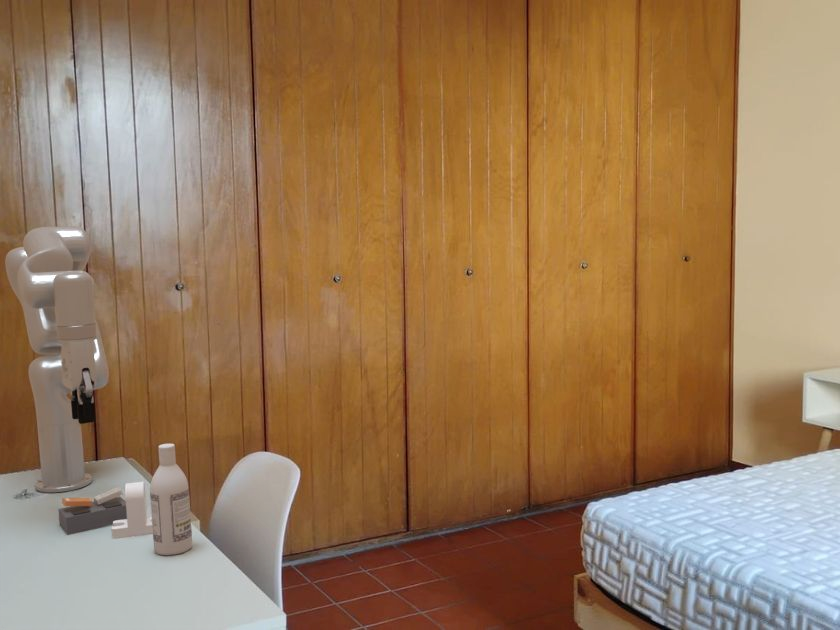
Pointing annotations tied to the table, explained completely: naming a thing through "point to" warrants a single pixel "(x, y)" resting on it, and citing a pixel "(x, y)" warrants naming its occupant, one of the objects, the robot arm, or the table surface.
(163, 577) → the table surface
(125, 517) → the rocker switch box
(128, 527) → the cable organizer
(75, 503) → the rocker orange
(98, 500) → the rocker grey
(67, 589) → the table surface
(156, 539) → the bath foam
